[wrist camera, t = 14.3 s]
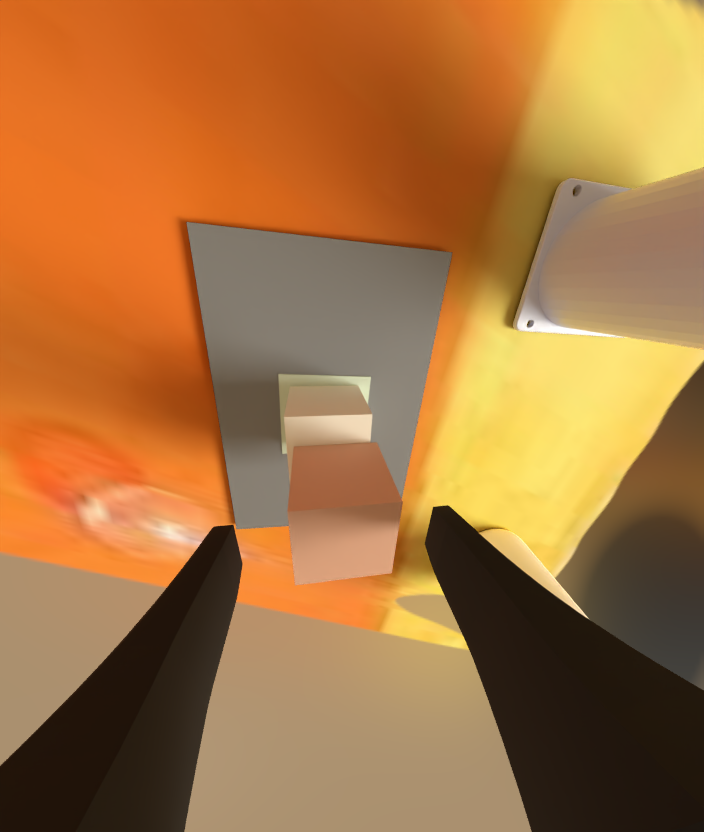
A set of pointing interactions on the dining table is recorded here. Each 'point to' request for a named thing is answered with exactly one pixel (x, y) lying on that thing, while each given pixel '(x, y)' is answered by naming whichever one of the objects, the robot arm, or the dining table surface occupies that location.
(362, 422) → the cream block
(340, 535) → the terracotta block
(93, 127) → the dining table surface
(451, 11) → the dining table surface
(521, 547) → the mug
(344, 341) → the mat
